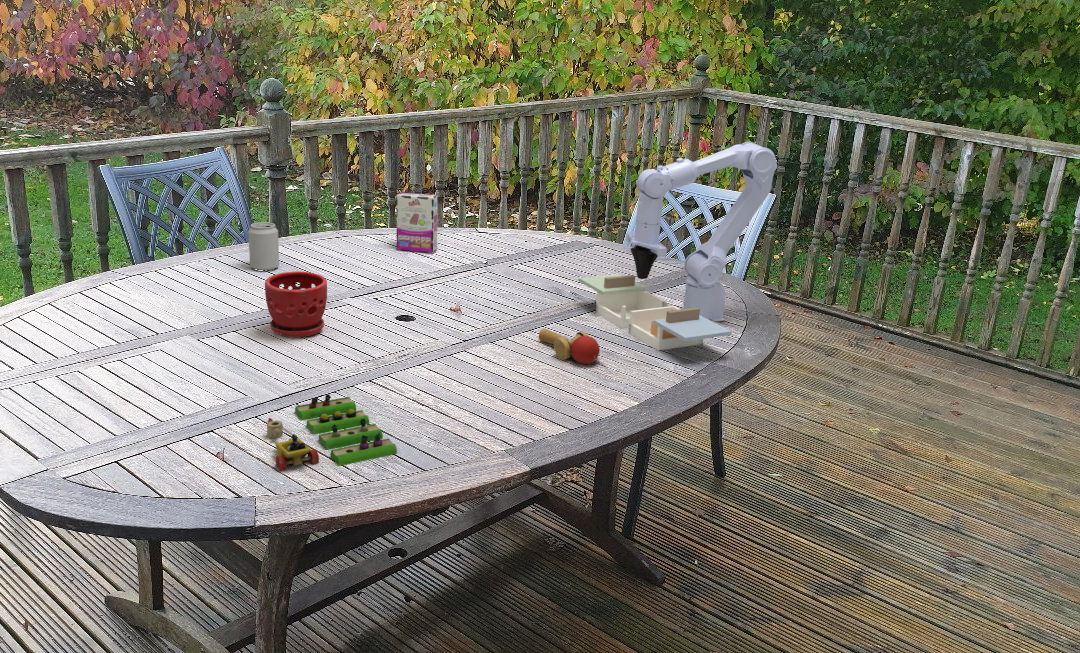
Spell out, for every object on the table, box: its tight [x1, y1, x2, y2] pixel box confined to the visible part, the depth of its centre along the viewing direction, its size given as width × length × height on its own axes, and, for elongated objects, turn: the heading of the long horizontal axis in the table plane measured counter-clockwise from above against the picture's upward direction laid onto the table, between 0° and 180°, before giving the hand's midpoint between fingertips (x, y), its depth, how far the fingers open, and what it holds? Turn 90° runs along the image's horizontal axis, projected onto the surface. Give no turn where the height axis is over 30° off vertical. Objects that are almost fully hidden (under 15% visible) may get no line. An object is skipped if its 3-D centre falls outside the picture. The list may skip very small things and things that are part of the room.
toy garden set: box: [266, 393, 398, 472], centre depth 165 cm, size 23×19×5 cm
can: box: [247, 221, 280, 271], centre depth 256 cm, size 8×8×12 cm
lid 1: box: [577, 273, 646, 295], centre depth 238 cm, size 12×12×3 cm
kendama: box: [538, 328, 600, 365], centre depth 209 cm, size 8×6×18 cm
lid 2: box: [653, 307, 732, 341], centre depth 210 cm, size 12×12×3 cm
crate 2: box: [628, 305, 704, 351], centre depth 219 cm, size 12×12×6 cm
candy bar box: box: [395, 192, 439, 254], centre depth 281 cm, size 11×5×16 cm, turn 80°
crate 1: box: [594, 289, 668, 329], centre depth 232 cm, size 12×12×6 cm
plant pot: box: [264, 270, 328, 338], centre depth 212 cm, size 13×13×12 cm
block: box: [650, 320, 676, 339], centre depth 217 cm, size 4×4×4 cm
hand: (642, 278), depth 230 cm, fingers closed
